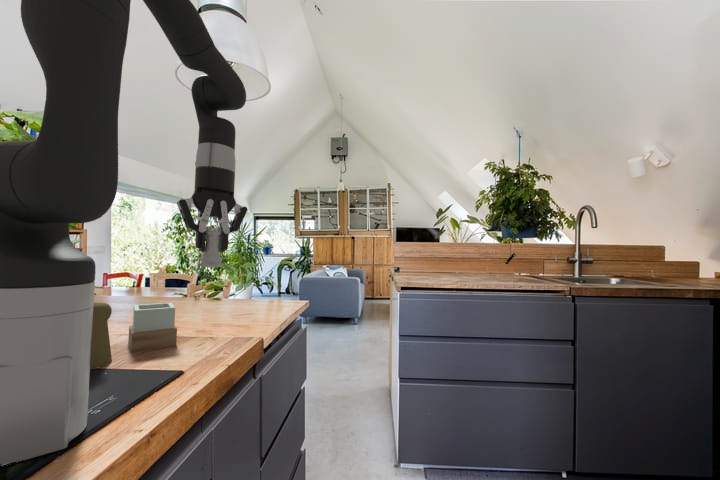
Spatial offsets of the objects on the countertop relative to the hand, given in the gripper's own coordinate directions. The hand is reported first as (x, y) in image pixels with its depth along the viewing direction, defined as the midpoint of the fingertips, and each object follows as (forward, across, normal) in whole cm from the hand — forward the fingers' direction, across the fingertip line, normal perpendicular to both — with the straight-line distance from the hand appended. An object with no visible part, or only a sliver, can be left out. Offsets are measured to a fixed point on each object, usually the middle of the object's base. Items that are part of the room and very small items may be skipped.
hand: (211, 251), depth 64 cm
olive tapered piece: (+21, -18, +6) cm, 28 cm away
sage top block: (+17, -8, +13) cm, 23 cm away
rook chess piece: (+3, 0, 0) cm, 3 cm away
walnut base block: (+21, -8, +13) cm, 26 cm away
